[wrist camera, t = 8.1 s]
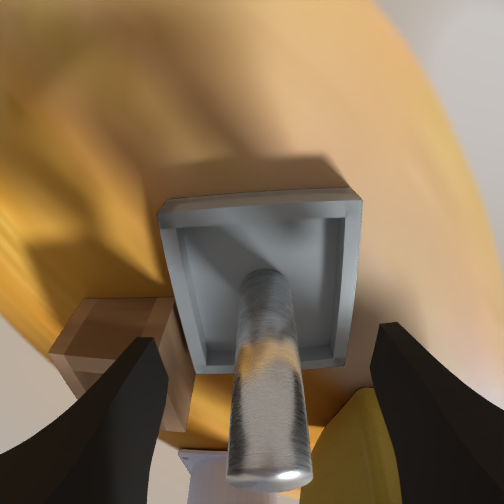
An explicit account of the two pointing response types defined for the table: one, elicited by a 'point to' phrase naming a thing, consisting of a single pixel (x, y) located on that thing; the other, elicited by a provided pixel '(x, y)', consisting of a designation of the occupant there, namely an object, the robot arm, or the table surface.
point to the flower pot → (354, 458)
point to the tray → (264, 256)
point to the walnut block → (118, 339)
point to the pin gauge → (267, 392)
